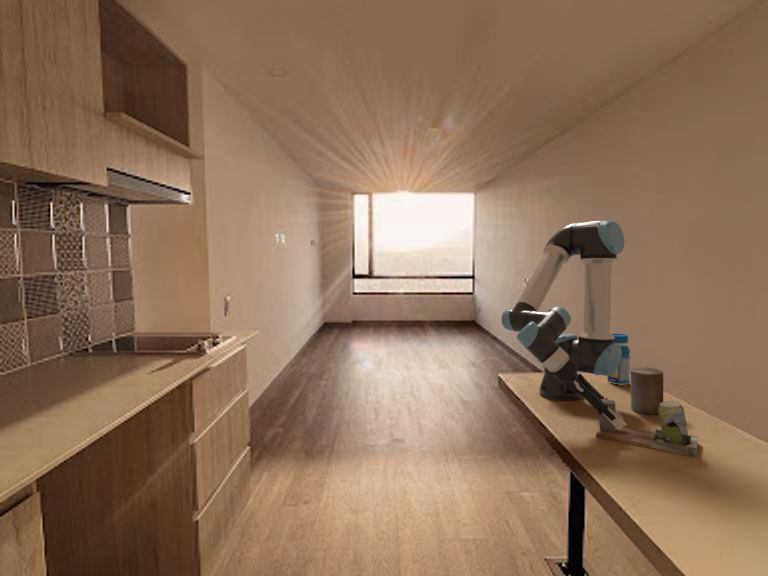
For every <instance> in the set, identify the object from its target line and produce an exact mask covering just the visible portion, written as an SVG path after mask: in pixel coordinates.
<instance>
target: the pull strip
mask: <svg viewBox="0 0 768 576" xmlns="http://www.w3.org/2000/svg"><path fill="white" fill-rule="evenodd" d="M600 400H601V401H602V402H603V403H604V404H605V405H606V406H607V407H609V408H610V409H611V410H612V411H613V412H615V410H616V401H615V400H614V399H608V400H605V398H604V399H600ZM598 416H599V417H598V420H599V421H598V422H599V423H598V425H599V427H598V428H599V429H598V430H597V432H596V433H595V437H596V438H598V439H604V440H609V441H614V442H620V443H624V444H629V445H635V446H639V447H643V448H650V449H654V450H655V449H656V450H660V451H666V452H671V453H674V454H681V455H686V456H691V457H695V458H696V457H697V453H698V447H699V436H697V435H691V434H688V437H689V442H690V443H689V445H687V446H682V445H677V444H672V443H666V442H664V441H659V440H656V438H660V439H663V435H662V429H655V432H653V431H647V430H642V429H637V428H632V427H631V428H630V427H626V426H624V427H623V428H622V429H620V430H618V429H617V428H616V427H615V426H614V425H613V424H612V423H611V422H610V421H609V420H608V419H607V418H606V417H605V416H604V415H603V414H600V415H599V414H598Z"/></svg>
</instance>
